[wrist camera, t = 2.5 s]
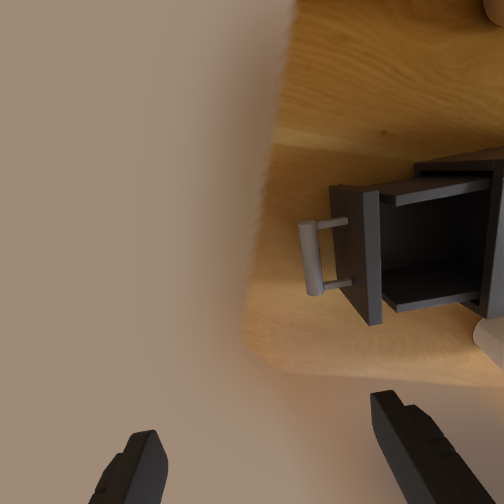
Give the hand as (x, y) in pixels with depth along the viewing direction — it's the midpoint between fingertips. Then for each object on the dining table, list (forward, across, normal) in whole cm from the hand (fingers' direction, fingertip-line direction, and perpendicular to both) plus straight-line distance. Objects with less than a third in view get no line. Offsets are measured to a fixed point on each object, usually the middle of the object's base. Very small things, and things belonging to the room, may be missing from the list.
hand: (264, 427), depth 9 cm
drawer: (+19, -14, 0) cm, 24 cm away
